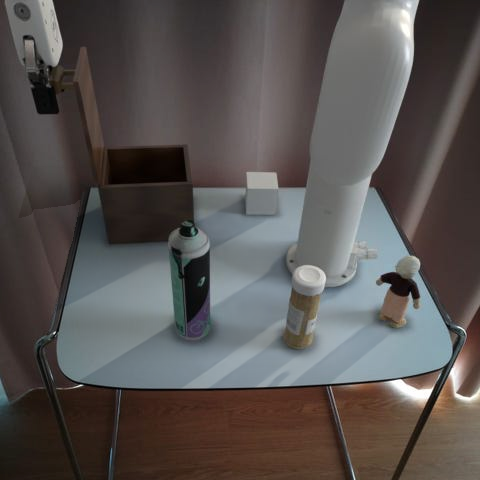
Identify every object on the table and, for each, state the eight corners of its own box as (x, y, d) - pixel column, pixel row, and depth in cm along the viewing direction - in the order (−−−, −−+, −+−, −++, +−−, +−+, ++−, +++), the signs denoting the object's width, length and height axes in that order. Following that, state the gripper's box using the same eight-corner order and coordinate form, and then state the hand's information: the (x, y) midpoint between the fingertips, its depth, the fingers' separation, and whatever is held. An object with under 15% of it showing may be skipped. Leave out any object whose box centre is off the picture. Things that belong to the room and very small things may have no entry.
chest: (190, 198, 102) (187, 144, 93) (194, 239, 93) (192, 184, 84) (111, 201, 100) (102, 146, 91) (109, 244, 91) (97, 187, 82)
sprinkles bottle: (315, 347, 76) (331, 283, 66) (287, 352, 75) (298, 288, 65) (306, 326, 79) (319, 261, 69) (279, 330, 78) (288, 265, 68)
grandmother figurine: (415, 320, 81) (441, 260, 71) (407, 334, 78) (433, 275, 69) (371, 301, 83) (391, 241, 74) (362, 315, 81) (381, 255, 72)
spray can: (205, 343, 76) (203, 239, 61) (171, 337, 76) (160, 232, 62) (213, 318, 79) (213, 214, 65) (181, 312, 80) (173, 208, 65)
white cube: (246, 214, 99) (247, 188, 95) (245, 197, 103) (246, 171, 99) (276, 215, 99) (278, 188, 95) (273, 198, 103) (276, 172, 99)
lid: (85, 46, 79) (51, 47, 78) (78, 81, 70) (39, 82, 69) (103, 144, 91) (74, 145, 91) (99, 185, 82) (66, 187, 81)
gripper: (40, -15, 59) (71, 127, 72) (56, -49, 71) (81, 79, 84) (-26, -16, 59) (18, 128, 72) (2, -49, 70) (35, 80, 83)
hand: (51, 101), depth 78 cm, fingers open, 7 cm apart
